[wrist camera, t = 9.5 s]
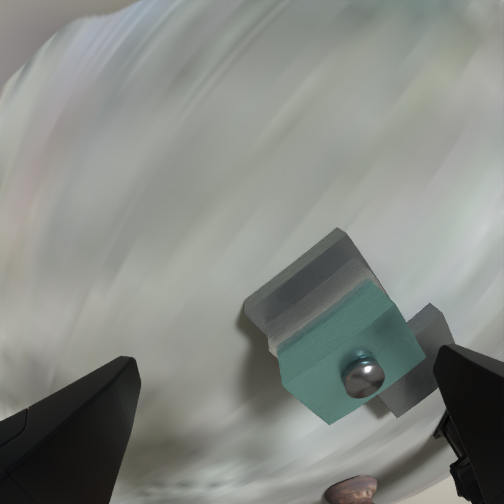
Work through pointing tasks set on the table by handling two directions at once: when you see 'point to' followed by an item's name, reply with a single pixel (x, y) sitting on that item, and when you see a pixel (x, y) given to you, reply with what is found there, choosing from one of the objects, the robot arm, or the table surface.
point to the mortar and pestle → (353, 491)
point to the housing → (342, 343)
